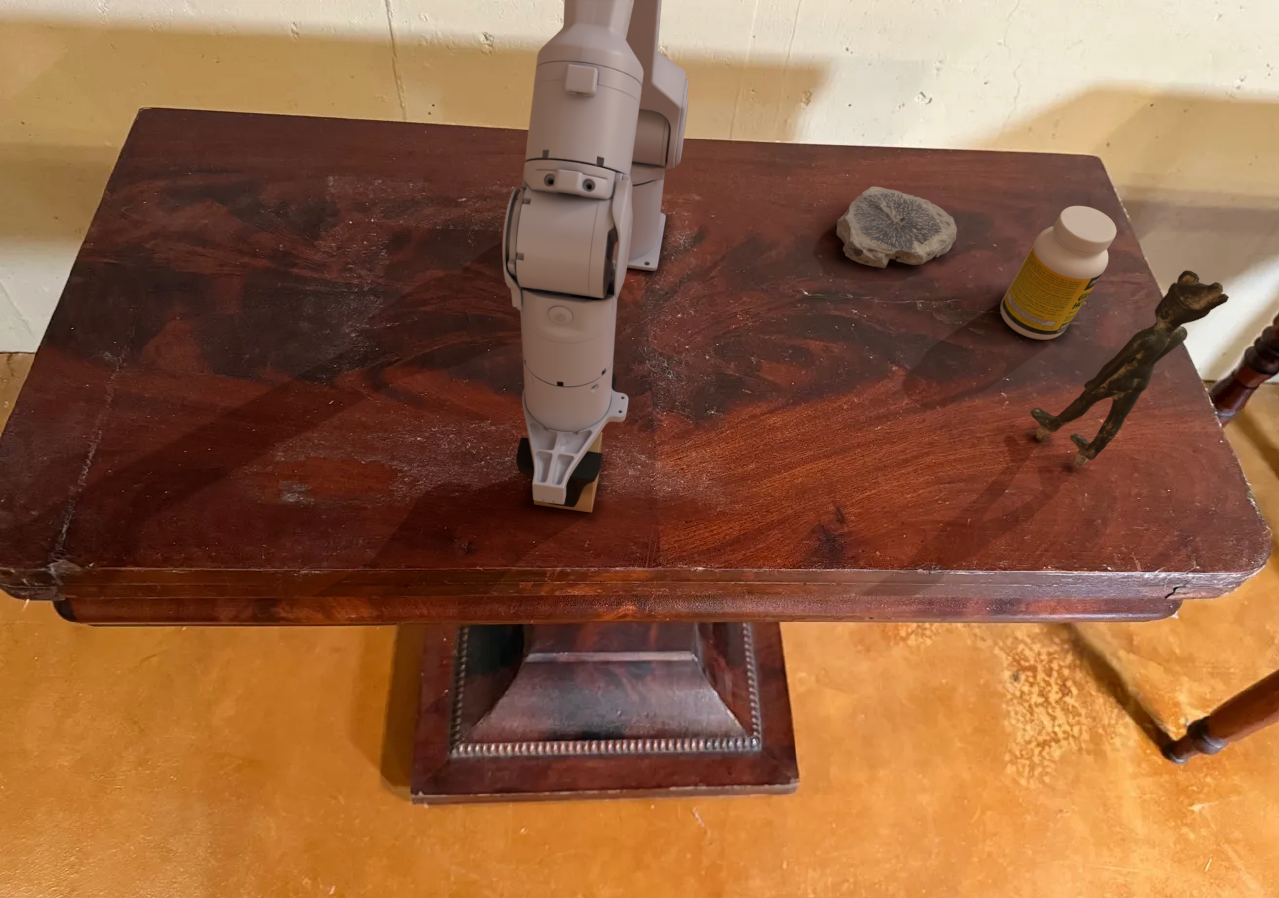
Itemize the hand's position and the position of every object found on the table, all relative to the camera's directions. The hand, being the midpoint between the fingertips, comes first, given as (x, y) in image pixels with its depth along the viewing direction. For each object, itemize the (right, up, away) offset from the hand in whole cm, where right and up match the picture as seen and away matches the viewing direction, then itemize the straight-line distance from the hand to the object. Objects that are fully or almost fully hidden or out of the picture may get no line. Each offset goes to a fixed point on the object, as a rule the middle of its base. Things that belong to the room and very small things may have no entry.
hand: (567, 474), depth 67 cm
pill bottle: (+42, +14, +16) cm, 47 cm away
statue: (+40, +2, +7) cm, 40 cm away
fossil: (+30, +23, +21) cm, 43 cm away
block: (0, -1, +1) cm, 1 cm away
